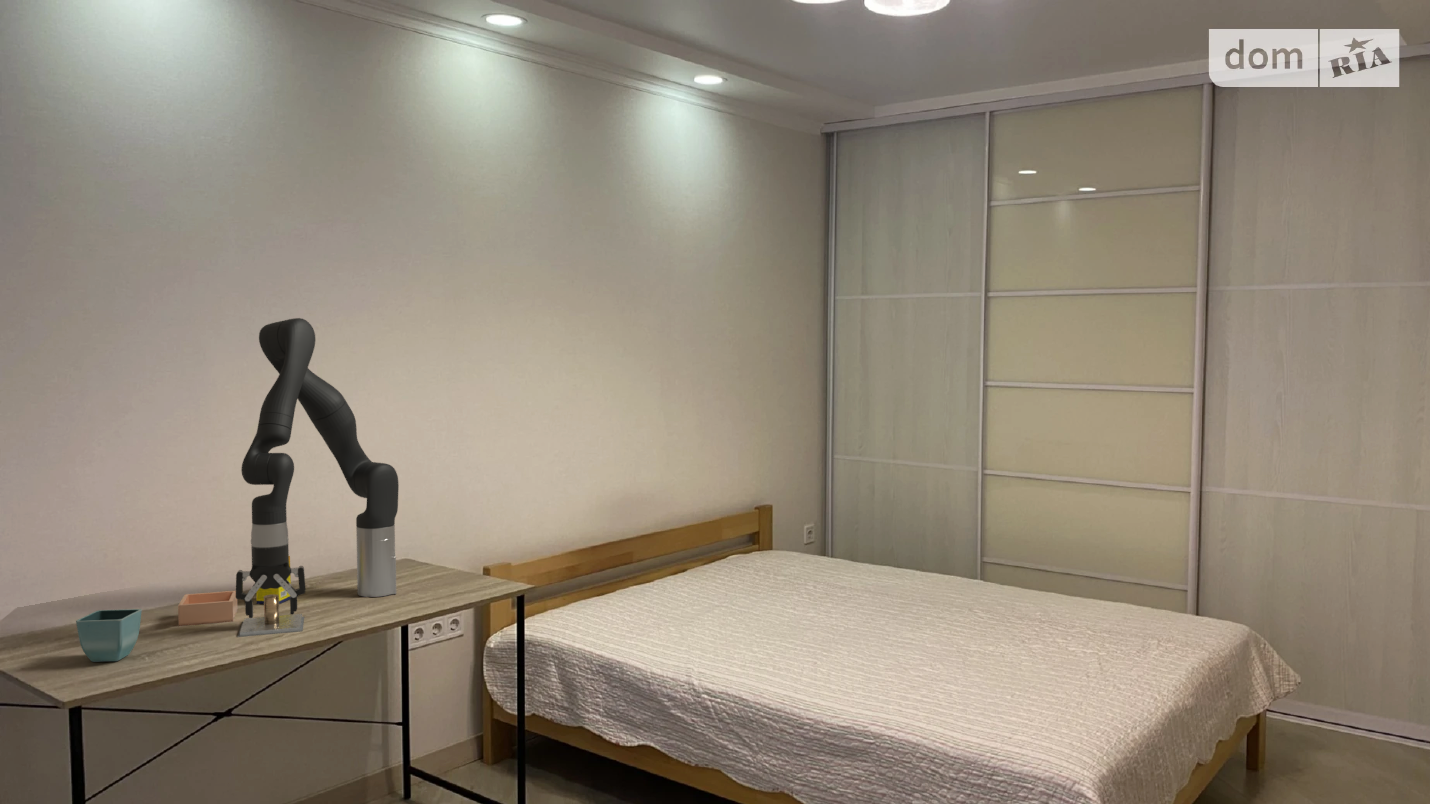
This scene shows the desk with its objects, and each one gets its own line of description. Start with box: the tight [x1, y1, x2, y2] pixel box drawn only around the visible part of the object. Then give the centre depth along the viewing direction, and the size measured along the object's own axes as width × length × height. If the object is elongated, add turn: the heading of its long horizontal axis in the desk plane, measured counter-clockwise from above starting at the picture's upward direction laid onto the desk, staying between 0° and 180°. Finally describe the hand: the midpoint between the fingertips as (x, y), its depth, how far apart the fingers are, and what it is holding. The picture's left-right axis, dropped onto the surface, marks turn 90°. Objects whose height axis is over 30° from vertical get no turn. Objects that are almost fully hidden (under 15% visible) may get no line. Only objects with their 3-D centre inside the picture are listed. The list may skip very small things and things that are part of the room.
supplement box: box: [255, 555, 292, 605], centre depth 252 cm, size 6×6×11 cm
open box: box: [177, 590, 239, 627], centre depth 236 cm, size 11×11×5 cm
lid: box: [239, 594, 303, 637], centre depth 228 cm, size 12×12×7 cm
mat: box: [237, 616, 305, 638], centre depth 228 cm, size 13×13×1 cm
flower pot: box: [75, 608, 143, 663], centre depth 206 cm, size 9×9×9 cm
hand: (271, 615), depth 228 cm, fingers open, 8 cm apart
